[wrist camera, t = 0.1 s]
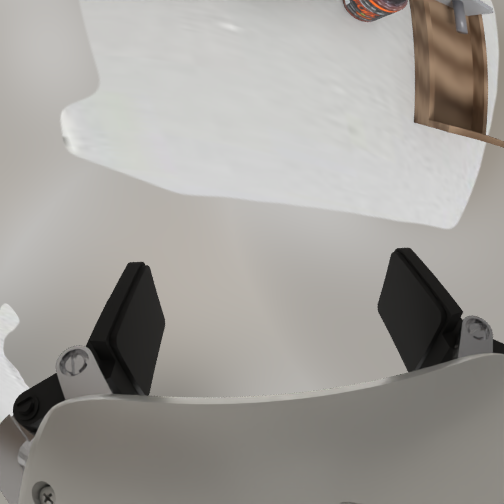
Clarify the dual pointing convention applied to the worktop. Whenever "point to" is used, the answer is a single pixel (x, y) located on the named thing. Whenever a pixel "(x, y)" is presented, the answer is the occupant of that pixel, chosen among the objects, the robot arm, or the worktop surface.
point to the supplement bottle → (373, 8)
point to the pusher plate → (466, 11)
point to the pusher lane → (450, 71)
